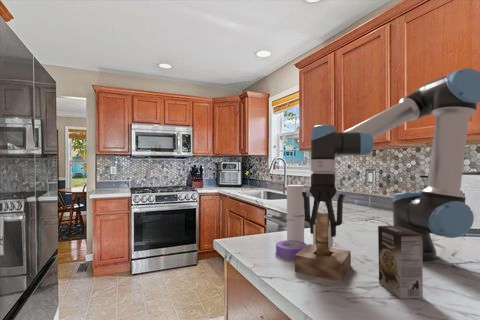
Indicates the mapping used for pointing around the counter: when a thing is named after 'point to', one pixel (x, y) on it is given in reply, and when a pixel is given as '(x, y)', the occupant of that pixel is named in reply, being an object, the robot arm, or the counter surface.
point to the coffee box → (401, 261)
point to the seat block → (323, 263)
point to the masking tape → (289, 248)
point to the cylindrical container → (295, 213)
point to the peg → (322, 233)
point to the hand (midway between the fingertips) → (322, 245)
